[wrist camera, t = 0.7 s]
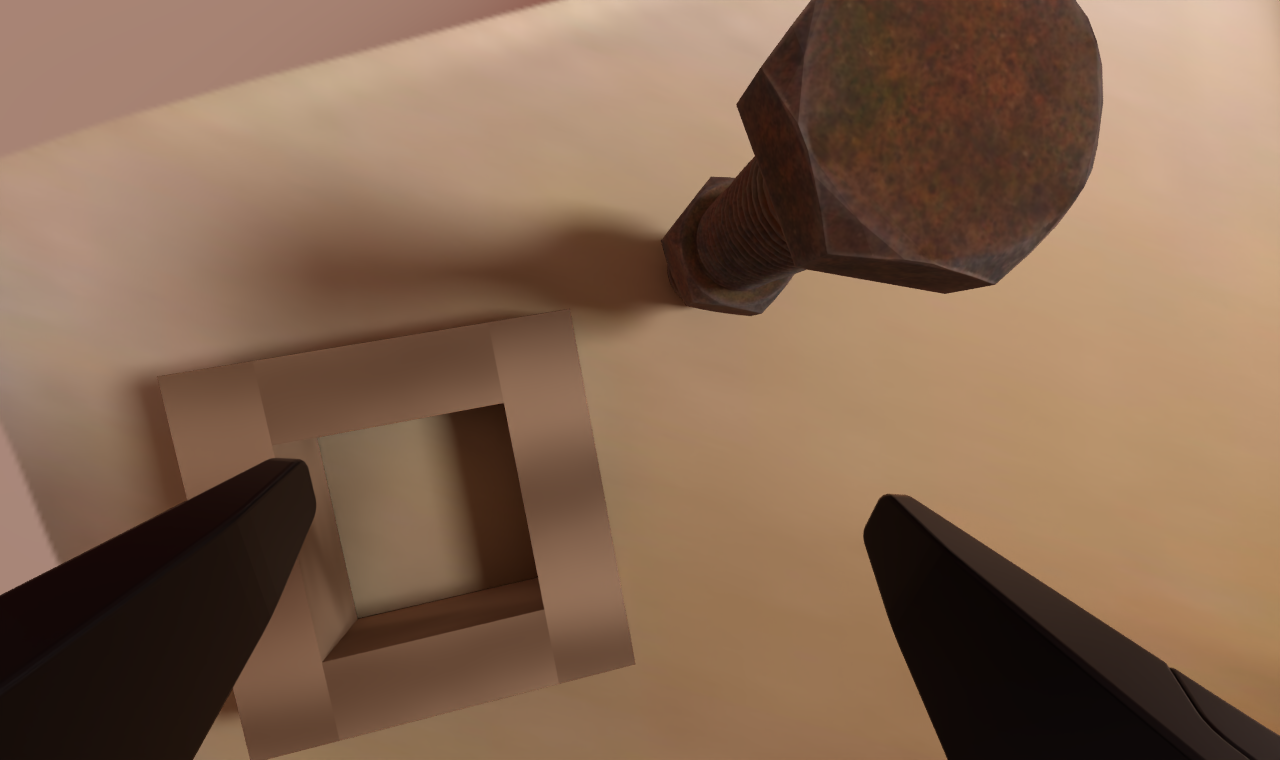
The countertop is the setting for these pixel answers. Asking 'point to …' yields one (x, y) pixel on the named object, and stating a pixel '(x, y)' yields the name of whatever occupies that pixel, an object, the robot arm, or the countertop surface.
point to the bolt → (898, 150)
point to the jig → (437, 631)
